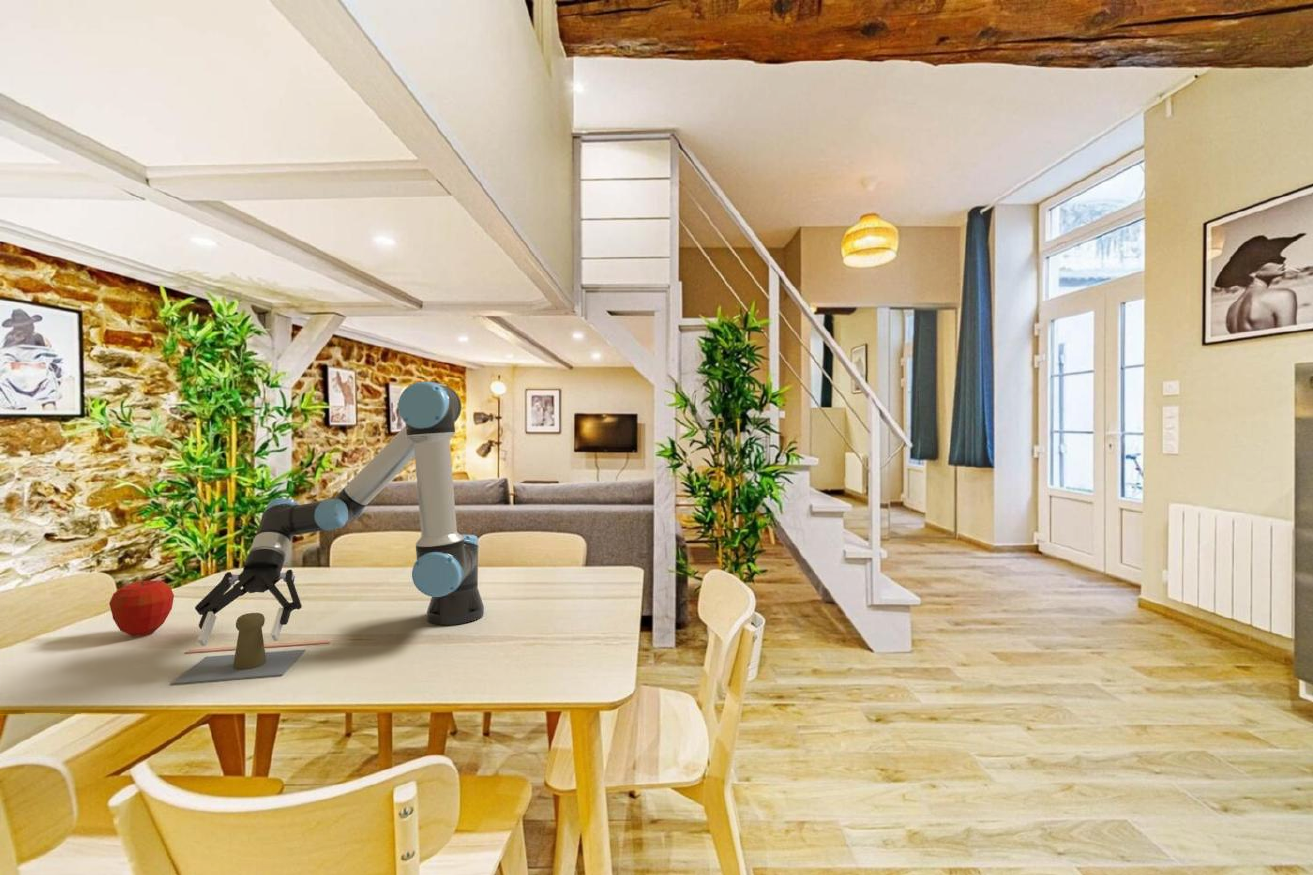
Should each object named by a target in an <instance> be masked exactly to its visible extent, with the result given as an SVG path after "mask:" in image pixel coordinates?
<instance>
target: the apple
mask: <svg viewBox="0 0 1313 875" xmlns="http://www.w3.org/2000/svg"><path fill="white" fill-rule="evenodd" d="M174 598H175V595H174V592H173V589H172V588H171V586H170V585H169V584H168V583H166V581H163V580H145V578H142V580H140V581H135V582H134V581H133V582H131V583H128V584H126V585H123V586H122V587H120V588H119V589H118V590H116V591H115V592H113V594H112V596H111V598H110V600H109V608H110V612H111V616H112V620H113V621H114V623H115V624H116V626H117V628H118V630H119V631H120V632H123V633H124V634H127V635H129V636H132V637H137V636H139V637H141V636H147V635H151V634H153V633H155V632H156V631H157V630H158V629H159V628H161V627H162V625H164V623H165V622H166V620H167V618H168V616H169V615H170V613H171V611H172V610H173V605H174Z"/></svg>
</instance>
